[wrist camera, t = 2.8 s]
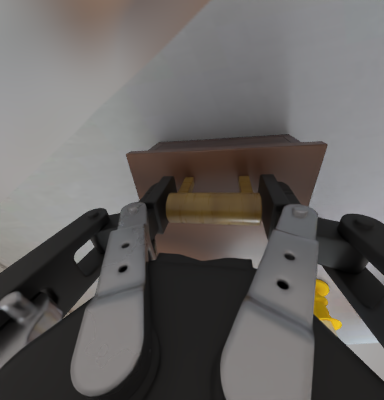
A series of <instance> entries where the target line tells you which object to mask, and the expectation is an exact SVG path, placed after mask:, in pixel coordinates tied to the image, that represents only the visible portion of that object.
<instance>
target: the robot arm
mask: <svg viewBox="0 0 384 400" xmlns="http://www.w3.org/2000/svg"><path fill="white" fill-rule="evenodd" d="M170 193H177V189H176V183H175V178H174V176H163V177H162V178H161V180H160V181H159V182H158V183H155V184H154V185H152V186H151V187H150V188H149V189H148V191H147V192H146V193H145V194H144V196H143V197H142V198H141V199H140V200H139V202H134V203H131V204H128V205H126V206H125V207H123V208H122V210H121V213H119V214H113V215H108V213H107V211H106V209H103V208H98V209H93V210H91V211H88V212H86V213H85V214H83V215H82V216H80V217H79V218H78V219H76V220H75V221H73V222H72V223H71V224H69V225H68V226H66V227H65V228H63V229H62V230H61V231H59V232H58V233H56V234H55V235H54V236H52V237H51V238H49V239H48V240H46V241H45V242H44V243H42V244H41V245H39V246H38V247H37V248H35V249H34V250H32V251H31V252H29V253H28V254H27V255H25V256H24V257H22V258H21V259H20V260H18V261H17V262H15V263H14V264H12V265H11V266H10V267H8V268H7V269H5V270H4V271H3V272H1V273H0V400H384V381H383V380H382V379H381V378H380V377H379V376H378V375H377V374H376V373H375V372H373V371H372V370H371V369H370V368H369V367H368V366H367V365H366V364H365V363H364V362H363V361H362V360H361V359H360V358H359V357H358V356H357V355H356V354H355V353H354V352H353V351H352V350H351V349H350V348H349V347H347V346H346V345H345V344H344V343H343V342H342V341H341V340H340V339H339V338H338V337H337V336H336V335H335V334H334V333H333V332H332V331H331V330H330V329H329V328H328V327H327V326H326V325H325V324H324V323H323V322H321V321H320V320H319V319H318V318H317V317H316V316H315V315H314V314H313V311H314V299H315V287H316V274H317V264H320V265H322V266H323V268H324V269H325V271H326V272H327V273H328V275H329V276H330V277H331V279H332V280H333V281H334V283H335V284H336V285H337V287H338V288H339V289H340V291H341V292H342V293H343V295H344V296H345V297H346V299H347V300H348V301H349V303H350V304H351V305H352V307H353V308H354V309H355V311H356V312H357V313H358V315H359V316H360V317H361V319H362V320H363V321H364V323H365V324H366V325H367V327H368V328H369V329H370V331H371V332H372V333H373V335H374V336H375V337H376V338H377V340H378V341H379V342H380V344H381V345H382V346H383V348H384V285H383V284H382V283H381V282H380V281H379V280H378V279H377V278H376V277H375V276H374V275H373V274H372V273H371V272H370V271H369V270H368V269H367V268H366V267H365V266H366V265H367V263H368V262H370V263H371V264H372V265H373V266H374V267H376V268H377V269H378V270H379V271H380V272H381V273H382V274H383V275H384V224H383V223H381V222H380V221H378V220H376V219H374V218H371V217H368V216H365V215H360V214H346V215H344V216H343V217H342V218H341V220H340V222H337V221H332V220H327V219H322V218H319V217H318V214H317V212H316V211H315V210H314V209H312V208H310V207H308V206H305V205H302V204H301V203H300V202H299V200H298V199H297V197H296V196H295V194H294V193H293V191H291V188H290V187H289V185H287V184H285V183H284V182H278V181H277V179H276V178H275V176H274V174H261V175H260V179H259V187H258V193H260V196H261V200H262V222H263V225H264V229H265V233H266V236H267V240H269V241H268V243H267V246H266V248H265V251H264V253H263V256H262V258H261V261H260V263H259V266H258V269H257V268H253V265H252V259H239V258H221V259H213V260H206V261H200V260H197V259H194V258H191V257H187V256H184V255H181V254H171V253H159V254H158V253H157V244H156V239H155V236H156V234H164V232H165V229H166V227H167V225H168V223H169V221H168V219H167V216H166V201H167V197H168V195H169V194H170ZM89 239H90V240H91V241H92V243H93V245H94V248H93V249H92V250H91V251H90V252H89V253H88V254H87V255H86V256H85V257H84V258H83V259H82V260H81V261H80V262H79V263H77V264H76V262H75V261H74V255H75V253H76V251H77V250H78V249H79V248H80V247H81V246H83V245H84V244H85V243H86V242H87V241H88V240H89ZM99 276H100V277H99ZM98 277H99V281H98V285H97V289H96V293H95V296H94V297H93V298H91V299H90V300H88V301H87V302H86V303H84V304H83V305H82V306H80V307H79V308H77V309H76V310H75V311H73V312H72V313H70V314H69V315H68V316H66V317H65V318H63V317H64V316H65V315H66V314H67V313H68V312H69V310H70V309H71V308H72V307H73V306H74V305H75V304H76V302H77V301H78V300H79V299H80V298H81V297H82V295H83V294H84V293H85V292H86V291H87V290H88V288H89V287H90V286H91V285H92V284H93V283H94V282H95V280H96V279H97V278H98Z"/></svg>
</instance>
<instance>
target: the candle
mask: <svg viewBox="0 0 384 400" xmlns="http://www.w3.org/2000/svg"><path fill="white" fill-rule="evenodd" d="M328 293H329V287H328V285H327V284H326V283H325V282H323V281H321V280H318V279H316V287H315V299H314V311H313V314H314V315H315V316H316V317H317V318H318V319H319V320H320V321H321V322H323V323H324V324H325V325H326V326H327V327H328V328H329V329H330V330H331V331H332V332H333V333H334V334H335V335H336V336H337V334H336V332H335V330H338V329H340V328H341V326H342V324H341V322H340V321H339V320H337V319H334V318H331V316H330V315H329V311H328V310H327V308H326V306H327V304H328V301H327V299H326V298H325V297H324V296H326V295H327V294H328ZM337 337H338V336H337Z"/></svg>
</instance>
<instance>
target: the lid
mask: <svg viewBox="0 0 384 400" xmlns="http://www.w3.org/2000/svg"><path fill="white" fill-rule="evenodd" d="M326 149H327V144H326V143H324V142H322V141H317V142H298V143H280V144H261V145H242V146H224V147H205V148H187V149H168V150H149V151H131V152H129V153H127V154H126V157H127V160H128V163H129V166H130V170H131V173H132V176H133V179H134V183H135V186H136V189H137V193H138V196H139V199H141V198H142V197H143V196H144V194H145V193H146V192H147V191H148V189H149V188H150V187H151V186H152V185H154V184H155V183H158V182H159V181H160V180H161V178H162V177H163V176H174V178H175V183H176V189H177V193H170V194H169V195H168V197H167V201H166V216H167V219H168V221H169V223H168V225H167V227H166V229H165V232H164V234H156V236H155V239H156V244H157V253H158V254H159V253H171V254H181V255H184V256H187V257H191V258H194V259H197V260H200V261H206V260H213V259H221V258H239V259H252V265H253V268H257V269H258V266H259V263H260V261H261V258H262V256H263V253H264V251H265V248H266V246H267V243H268V241H269V240H267V236H266V233H265V229H264V225H263V222H262V200H261V196H260V193H258V187H259V179H260V175H261V174H274V176H275V178H276V179H277V181H278V182H284V183H285V184H287V185H289V187H290V188H291V191H293V193H294V194H295V196H296V197H297V199H298V200H299V202H300V203H301V204H302V205H305V206H308V205H309V202H310V199H311V196H312V193H313V189H314V186H315V183H316V180H317V177H318V174H319V171H320V167H321V164H322V161H323V158H324V155H325V152H326Z"/></svg>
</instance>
